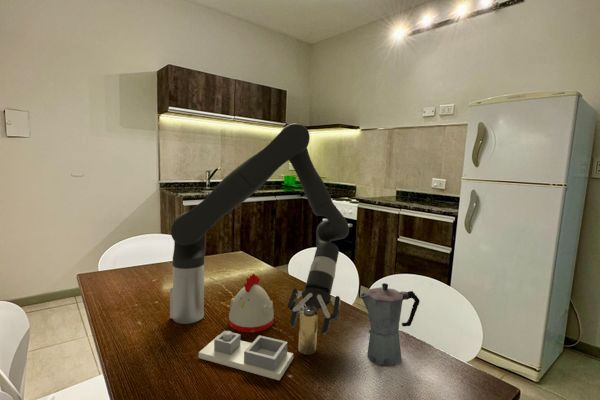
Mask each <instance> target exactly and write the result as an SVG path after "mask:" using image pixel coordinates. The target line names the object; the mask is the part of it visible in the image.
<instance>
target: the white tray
mask: <svg viewBox="0 0 600 400" xmlns="http://www.w3.org/2000/svg"><path fill="white" fill-rule="evenodd" d="M241 337H242V335H241V334H239V333H237V332H236V333H235V332H233V331H231V330H224V331H222V332H221V334H218V335H217V336H216V337H215V338H213V340H211V341H210V342H209V343H207V344H206V345H205V346H204V347H203V348H202V349H201V350H200V351H198V359H201V360H205V361H208V362H212V363H215V364H219V365H222V366H226V367H230V368H234V369H237V370H241V371H244V372H247V373H252V374H255V375H258V376H262V377H266V378H268V379H269V378H270V379H272V380H277V381H281V378H282V377H283V376H284V374H285V372H286V371H287V369H288V368H289V366H290V364H291V363H292V362H293V359H294V353H293V352H289V351H288V341H285V340H282V339H276V338H272V337H268V336H264V335H261V334H260V335H258V336H257V337H256V338H255V339H254V341H252V342H249V341H244V340H241V339H242V338H241Z"/></svg>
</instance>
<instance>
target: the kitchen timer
mask: <svg viewBox="0 0 600 400" xmlns="http://www.w3.org/2000/svg"><path fill="white" fill-rule="evenodd" d="M260 279H261V278H260V277H259V276H257V275H256V274H254V273H252V275H249V277H247V278H246V283H243V284H244V286H243V287H242V288H241V289H240V290H239V291H238V292H237V294H236V295H235V297H232V298H231V299H230V305H229V306H230V310H229V313H228V325H229V326H230V327H231V328H232V330H236V331H238V332H242V333H258V332H261V331H264V330H267V329H270V328H271V326H273V324H274V318H275V317H274V315H275V314H274V313H275V312H274V303H273V302H274V301H273V300H271V298H270V297H269V294H268V293H267V292H266V290H265V289H264V288H263V287H262V286H260V285H259V284H260Z"/></svg>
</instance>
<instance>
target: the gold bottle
mask: <svg viewBox="0 0 600 400" xmlns="http://www.w3.org/2000/svg"><path fill="white" fill-rule="evenodd" d="M318 318H319V313H318V312H316V310H315V309H313V308H310V307H307V308H304V310H303V311H301V312H300V313H299V324H298V325H299V327H298V352H299V353H300V354H303V355H313V354H315V353H316V352H317V339H318V337H317V336H318V321H319V319H318Z"/></svg>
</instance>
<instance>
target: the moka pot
mask: <svg viewBox="0 0 600 400" xmlns="http://www.w3.org/2000/svg"><path fill="white" fill-rule="evenodd" d="M388 287H389V284H388V283H385V282H384V283H381V287H376V288H369V289H368V291H365V292H362V293H361V294H360V295H359V298H360V299H362V301H363V304H364V306H365V308H366V311H367V313H368V320H369V321H368V322H370V323H369V325H370V329H369V330H368V333H369V337H368V338H369V339H368V345H367V346H368V347H367V354H366V355H367V358H368V360H369V361H371V362H372V363H374V364H376V365H379V366H383V367H390V366H391V367H392V366H393V367H394V366H397V365H398V364H400V363H401V362H402V350H401V343H400V333H399V329H400V321H401V315H402V308H403V307H402V306H403V301H404V300H406V301H407V300H409V299H413V304H412V308H411V311H410V314H409V318H408V320H407V321H406V322H402V323H401V326H402V327H410V326H411V325H412V322H413V321H414V317H415V316H416V312H417V309H418V307H419V304H420V302H421V301H420V299H419V297H418V296H417V294H415V292H414V291H413V290H411V291H399V290H396V289H395V288H388Z"/></svg>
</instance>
